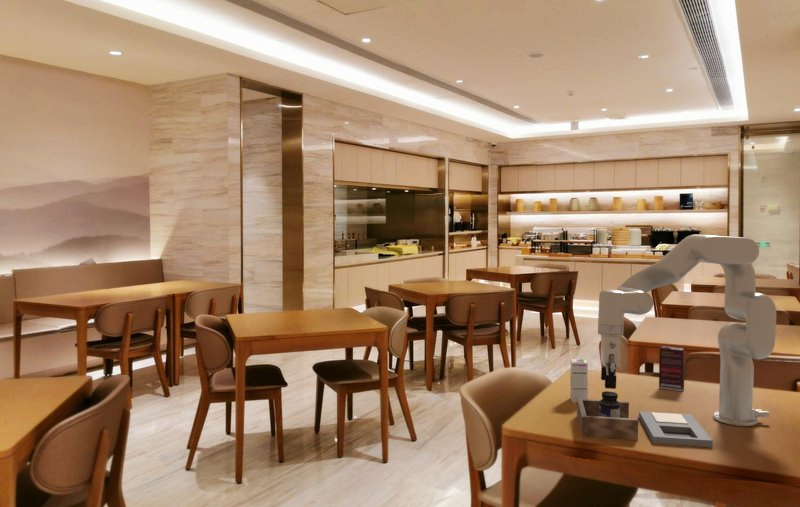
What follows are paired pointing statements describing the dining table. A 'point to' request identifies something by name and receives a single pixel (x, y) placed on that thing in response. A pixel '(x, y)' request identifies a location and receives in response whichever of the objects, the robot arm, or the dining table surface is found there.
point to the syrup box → (579, 379)
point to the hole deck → (674, 429)
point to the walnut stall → (605, 421)
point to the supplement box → (671, 368)
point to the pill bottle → (609, 405)
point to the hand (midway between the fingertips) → (608, 384)
